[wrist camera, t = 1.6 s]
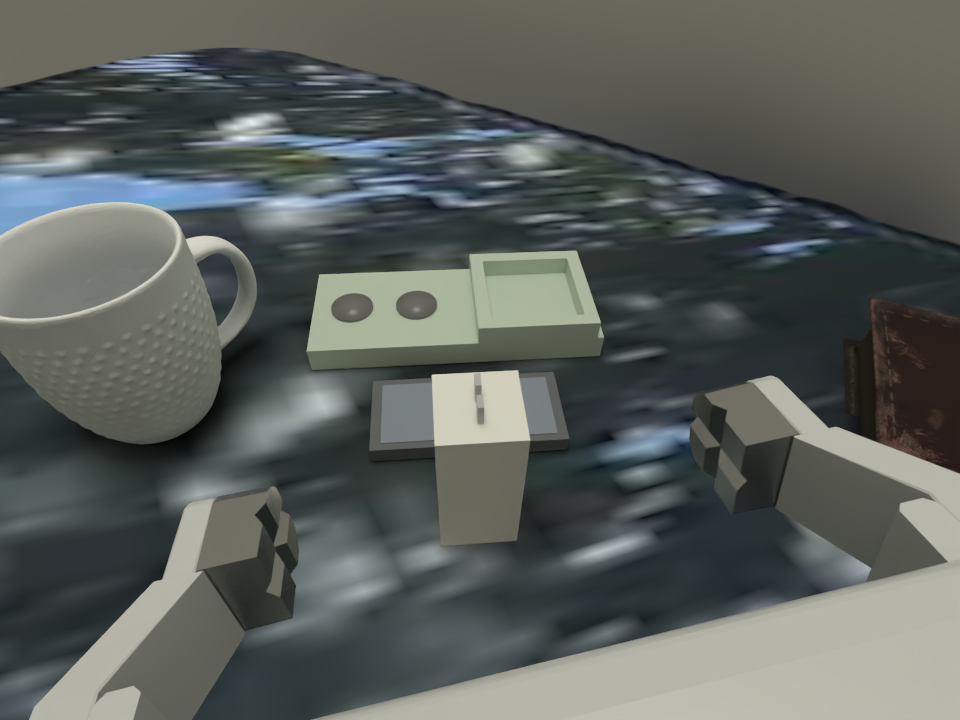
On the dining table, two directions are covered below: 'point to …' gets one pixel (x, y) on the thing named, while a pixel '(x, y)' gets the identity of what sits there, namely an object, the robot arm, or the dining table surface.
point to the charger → (479, 455)
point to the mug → (117, 318)
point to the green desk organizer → (456, 314)
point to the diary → (907, 382)
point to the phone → (410, 426)
